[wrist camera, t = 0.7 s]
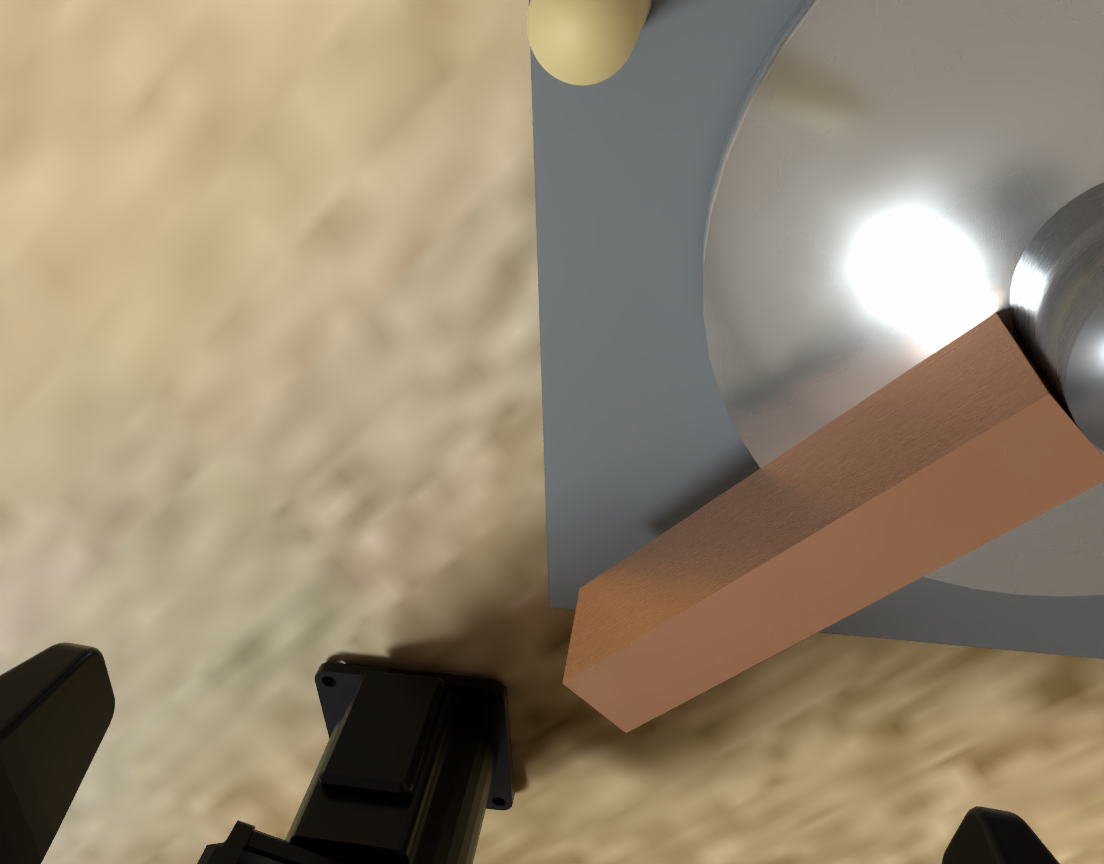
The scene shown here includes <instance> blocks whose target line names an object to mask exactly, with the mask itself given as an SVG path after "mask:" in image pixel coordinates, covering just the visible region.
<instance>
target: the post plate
mask: <svg viewBox="0 0 1104 864" xmlns="http://www.w3.org/2000/svg"><path fill="white" fill-rule="evenodd" d="M801 1H802V0H529V9H528V14H527V35H528V39H529V43H530V50H531V80H532V109H533V139H534V169H535V198H536V228H537V258H538V287H539V317H540V346H541V376H542V406H543V435H544V465H545V495H546V524H547V554H548V583H549V607H551V608H562V609H572V610H576V606H577V600H578V595H579V589H580V588H581V587H582V586H584V585H586V584H587V583H589V582H590V581H592V580H593V579H595V578H596V577H598V576H599V575H601V574H602V573H604V572H605V571H607V570H608V569H610V568H611V567H613V566H614V565H616V564H617V563H619V562H620V561H622V560H623V559H625V558H626V557H628V556H629V555H631V554H632V553H634V552H635V551H637V550H638V549H640V548H641V547H643V546H644V545H646V544H647V543H649V542H650V541H652V540H653V539H655V538H656V537H658V536H659V535H661V534H662V533H664V532H665V531H667V530H668V529H670V528H671V527H673V526H674V525H676V524H677V523H679V522H681V521H682V520H684V519H685V518H687V517H688V516H690V515H691V514H693V513H694V512H696V511H697V510H699V509H700V508H702V507H703V506H705V505H706V504H708V503H709V502H711V501H712V500H714V499H715V498H717V497H718V496H720V495H721V494H723V493H724V492H726V491H727V490H729V489H730V488H732V487H733V486H735V485H736V484H738V483H739V482H741V481H742V480H744V479H745V478H747V477H748V476H750V475H751V474H753V473H754V472H756V471H757V470H759V469H760V467H759V465H758V464H757V462H756V461H755V459H754V458H753V456H752V455H751V453H750V452H749V450H748V449H747V447H746V446H745V444H744V443H743V441H742V440H741V438H740V437H739V435H738V433H737V431H736V429H735V427H734V424H733V422H732V420H731V418H730V416H729V414H728V412H727V410H726V407H725V405H724V403H723V401H722V399H721V396H720V392H719V389H718V386H717V382H716V379H715V375H714V372H713V369H712V365H711V362H710V359H709V353H708V345H707V338H706V331H705V324H704V317H703V252H704V231H705V224H706V217H707V210H708V203H709V196H710V189H711V185H712V182H713V178H714V175H715V171H716V168H717V164H718V161H719V157H720V153H721V150H722V146H723V143H724V139H725V137H726V134H727V132H728V130H729V127H730V125H731V123H732V120H733V118H734V115H735V113H736V111H737V108H738V106H739V104H740V101H741V99H742V96H743V94H744V92H745V89H746V87H747V85H748V84H749V82H750V80H751V78H752V77H753V75H754V73H755V71H756V70H757V68H758V66H759V64H760V63H761V61H762V59H763V57H764V56H765V54H766V52H767V50H768V49H769V47H770V45H771V43H772V42H773V40H774V38H775V36H776V35H777V34H778V32H779V31H780V30H781V28H782V27H783V25H784V24H785V23H786V21H787V20H788V19H789V17H790V16H791V15H792V13H793V12H794V10H795V9H796V8H797V6H798V5H799V4H800V2H801ZM819 632H821V633H831V634H842V635H853V636H864V637H875V638H885V639H896V640H907V641H918V642H928V643H939V644H950V645H961V646H972V647H982V648H993V649H1004V650H1015V651H1026V652H1036V653H1047V654H1058V655H1069V656H1080V657H1090V658H1101V659H1104V595H1089V596H1069V597H1063V596H1037V595H1016V594H1009V593H1001V592H994V591H986V590H978V589H972V588H968V587H963V586H959V585H955V584H951V583H946V582H942V581H938V580H933V579H929V578H927V577H924V576H923V577H921V578H919V579H917V580H916V581H914V582H912V583H910V584H908V585H906V586H904V587H902V588H900V589H899V590H897V591H895V592H893V593H891V594H889V595H887V596H885V597H883V598H881V599H880V600H878V601H876V602H874V603H872V604H870V605H868V606H866V607H864V608H862V609H861V610H859V611H857V612H855V613H853V614H851V615H849V616H847V617H845V618H844V619H842V620H840V621H838V622H836V623H834V624H832V625H830V626H828V627H826V628H825V629H823V630H821V631H819Z"/></svg>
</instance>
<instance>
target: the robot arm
mask: <svg viewBox="0 0 1104 864" xmlns="http://www.w3.org/2000/svg"><path fill="white" fill-rule="evenodd" d="M315 683H316V687H317V691H318V695H319V698H320V702H321V706H322V710H323V714H324V718H325V722H326V726H327V730H328V734H329V738H330V739H329V742H328V744H327V746H326V748H325V751H324V753H323V755H322V758H321V760H320V762H319V764H318V767H317V769H316V771H315V773H314V776H313V778H312V780H311V783H310V785H309V787H308V789H307V792H306V794H305V796H304V798H303V801H302V803H301V805H300V808H299V810H298V812H297V814H296V817H295V819H294V821H293V823H292V826H291V828H290V830H289V833H288V835H287V837H286V839H285V840H283V839H280V838H277V837H274V836H271V835H268V834H265V833H262V832H260V831H257V830H255V826H253V825H250V824H247V823H244V822H241V821H239V820H238V821H237V823H236V824H235V826H234V828H233V830H232V831H231V833H230V835H229V837H228V838H227V840H226V841H225V842H224V843H217V844H211V845H207V846H206V848H205V850H204V852H203V854H202V856H201V858H200V860H199V861H198V863H197V864H473V860H474V856H475V852H476V847H477V843H478V839H479V835H480V831H481V827H482V822H483V818H484V814H485V810H486V808H487V809H495V810H507V809H510V808H511V807H512V804H513V799H514V794H515V792H514V779H513V766H512V752H511V739H510V726H509V713H508V700H507V690H506V687H505V686H504V685H503V684H502V683H500V682H499V681H497V680H492V679H485V678H475V677H466V676H456V675H447V674H437V673H428V672H419V671H409V670H400V669H390V668H381V667H371V666H362V665H352V664H343V663H333V662H326V663H323V664H322V665H321V666H320V667H319V669H318V671H317V673H316V675H315ZM114 708H115V698H114V693H113V690H112V686H111V682H110V679H109V675H108V671H107V668H106V664H105V660H104V657H103V655H102V653H101V652H100V651H99V650H98V649H97V648H94V647H90V646H84V645H79V644H73V643H59V644H56V645H53V646H51V647H49V648H47V649H45V650H44V651H42V652H40V653H38V654H37V655H35V656H33V657H32V658H30V659H28V660H26V661H25V662H23V663H21V664H19V665H18V666H16V667H14V668H12V669H11V670H9V671H7V672H5V673H4V674H2V675H0V864H41V862H42V860H43V858H44V857H45V855H46V853H47V851H48V849H49V847H50V845H51V843H52V841H53V839H54V837H55V835H56V833H57V831H58V829H59V827H60V825H61V823H62V821H63V819H64V817H65V815H66V813H67V811H68V809H69V807H70V805H71V803H72V800H73V798H74V796H75V794H76V792H77V790H78V788H79V786H80V784H81V782H82V780H83V778H84V776H85V774H86V772H87V770H88V768H89V766H90V764H91V761H92V759H93V757H94V755H95V753H96V751H97V749H98V747H99V745H100V743H101V741H102V739H103V737H104V735H105V733H106V731H107V729H108V727H109V725H110V722H111V720H112V717H113V713H114ZM942 864H1059V862H1058V861H1057V860H1056V859H1055V857H1054V856H1053V855H1052V854H1051V853H1050V851H1049V850H1048V849H1047V848H1046V846H1045V845H1044V844H1043V843H1042V842H1041V840H1040V839H1039V838H1038V837H1037V835H1036V834H1035V833H1034V832H1033V831H1032V829H1031V828H1030V827H1029V826H1028V825H1027V823H1026V822H1025V821H1024V820H1023V819H1021V818H1020V817H1019V816H1018V815H1016V814H1014V813H1011V812H1008V811H1002V810H997V809H991V808H985V807H974V808H972V809H970V810H969V811H968V813H967V814H966V816H965V817H964V819H963V821H962V823H961V824H960V826H959V828H958V829H957V831H956V833H955V835H954V836H953V838H952V840H951V842H950V843H949V845H948V847H947V849H946V851H945V853H944V856H943V860H942Z"/></svg>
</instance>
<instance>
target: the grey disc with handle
mask: <svg viewBox="0 0 1104 864" xmlns="http://www.w3.org/2000/svg"><path fill="white" fill-rule="evenodd" d="M703 317H704V324H705V331H706V338H707V345H708V353H709V359H710V362H711V365H712V369H713V372H714V375H715V379H716V382H717V386H718V389H719V392H720V396H721V399H722V401H723V403H724V405H725V407H726V410H727V412H728V414H729V416H730V418H731V420H732V422H733V424H734V427H735V429H736V431H737V433H738V435H739V437H740V438H741V440H742V441H743V443H744V444H745V446H746V447H747V449H748V450H749V452H750V453H751V455H752V456H753V458H754V459H755V461H756V462H757V464H758V465H759V467H760V469H759V470H757V471H756V472H754V473H753V474H751V475H750V476H748V477H747V478H745V479H744V480H742V481H741V482H739V483H738V484H736V485H735V486H733V487H732V488H730V489H729V490H727V491H726V492H724V493H723V494H721V495H720V496H718V497H717V498H715V499H714V500H712V501H711V502H709V503H708V504H706V505H705V506H703V507H702V508H700V509H699V510H697V511H696V512H694V513H693V514H691V515H690V516H688V517H687V518H685V519H684V520H682V521H681V522H679V523H677V524H676V525H674V526H673V527H671V528H670V529H668V530H667V531H665V532H664V533H662V534H661V535H659V536H658V537H656V538H655V539H653V540H652V541H650V542H649V543H647V544H646V545H644V546H643V547H641V548H640V549H638V550H637V551H635V552H634V553H632V554H631V555H629V556H628V557H626V558H625V559H623V560H622V561H620V562H619V563H617V564H616V565H614V566H613V567H611V568H610V569H608V570H607V571H605V572H604V573H602V574H601V575H599V576H598V577H596V578H595V579H593V580H592V581H590V582H589V583H587V584H586V585H584V586H582V587H581V588H580V589H579V595H578V600H577V606H576V611H575V617H574V622H573V628H572V633H571V639H570V644H569V650H568V655H567V661H566V666H565V672H564V677H563V683H562V684H564V685H565V686H566V687H568V688H569V689H570V690H571V691H573V692H574V693H575V694H576V695H578V696H579V697H580V698H582V699H583V700H584V701H585V702H587V703H588V704H589V705H591V706H592V707H593V708H594V709H596V710H597V711H598V712H599V713H601V714H602V715H603V716H605V717H606V718H607V719H608V720H610V721H611V722H612V723H614V724H615V725H616V726H617V727H619V728H620V729H621V730H622V731H624V732H625V733H627V732H629V731H631V730H633V729H635V728H637V727H639V726H641V725H643V724H644V723H646V722H648V721H650V720H652V719H654V718H656V717H658V716H660V715H662V714H663V713H665V712H667V711H669V710H671V709H673V708H675V707H677V706H679V705H680V704H682V703H684V702H686V701H688V700H690V699H692V698H694V697H696V696H698V695H699V694H701V693H703V692H705V691H707V690H709V689H711V688H713V687H715V686H716V685H718V684H720V683H722V682H724V681H726V680H728V679H730V678H732V677H734V676H735V675H737V674H739V673H741V672H743V671H745V670H747V669H749V668H751V667H753V666H754V665H756V664H758V663H760V662H762V661H764V660H766V659H768V658H770V657H771V656H773V655H775V654H777V653H779V652H781V651H783V650H785V649H787V648H789V647H790V646H792V645H794V644H796V643H798V642H800V641H802V640H804V639H806V638H807V637H809V636H811V635H813V634H815V633H817V632H819V631H821V630H823V629H825V628H826V627H828V626H830V625H832V624H834V623H836V622H838V621H840V620H842V619H844V618H845V617H847V616H849V615H851V614H853V613H855V612H857V611H859V610H861V609H862V608H864V607H866V606H868V605H870V604H872V603H874V602H876V601H878V600H880V599H881V598H883V597H885V596H887V595H889V594H891V593H893V592H895V591H897V590H899V589H900V588H902V587H904V586H906V585H908V584H910V583H912V582H914V581H916V580H917V579H919V578H921V577H923V576H924V577H927V578H929V579H933V580H938V581H942V582H946V583H951V584H955V585H959V586H963V587H968V588H972V589H978V590H986V591H994V592H1001V593H1009V594H1016V595H1037V596H1063V597H1069V596H1089V595H1104V0H802V1H801V2H800V4H799V5H798V6H797V8H796V9H795V10H794V12H793V13H792V15H791V16H790V17H789V19H788V20H787V21H786V23H785V24H784V25H783V27H782V28H781V30H780V31H779V32H778V34H777V35H776V36H775V38H774V40H773V42H772V43H771V45H770V47H769V49H768V50H767V52H766V54H765V56H764V57H763V59H762V61H761V63H760V64H759V66H758V68H757V70H756V71H755V73H754V75H753V77H752V78H751V80H750V82H749V84H748V85H747V87H746V89H745V92H744V94H743V96H742V99H741V101H740V104H739V106H738V108H737V111H736V113H735V115H734V118H733V120H732V123H731V125H730V127H729V130H728V132H727V134H726V137H725V139H724V143H723V146H722V150H721V153H720V157H719V161H718V164H717V168H716V171H715V175H714V178H713V182H712V185H711V189H710V196H709V203H708V210H707V217H706V224H705V231H704V252H703Z"/></svg>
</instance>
